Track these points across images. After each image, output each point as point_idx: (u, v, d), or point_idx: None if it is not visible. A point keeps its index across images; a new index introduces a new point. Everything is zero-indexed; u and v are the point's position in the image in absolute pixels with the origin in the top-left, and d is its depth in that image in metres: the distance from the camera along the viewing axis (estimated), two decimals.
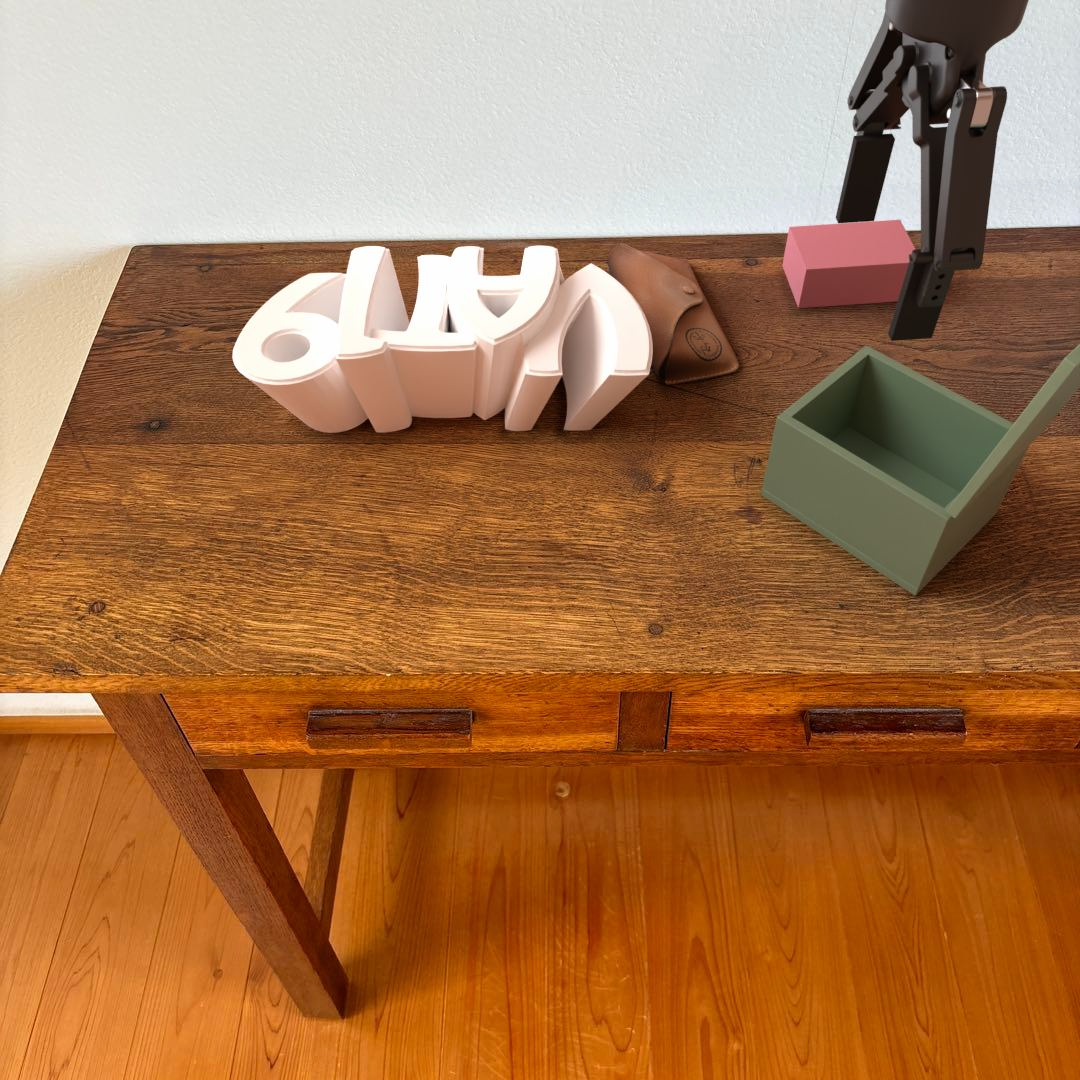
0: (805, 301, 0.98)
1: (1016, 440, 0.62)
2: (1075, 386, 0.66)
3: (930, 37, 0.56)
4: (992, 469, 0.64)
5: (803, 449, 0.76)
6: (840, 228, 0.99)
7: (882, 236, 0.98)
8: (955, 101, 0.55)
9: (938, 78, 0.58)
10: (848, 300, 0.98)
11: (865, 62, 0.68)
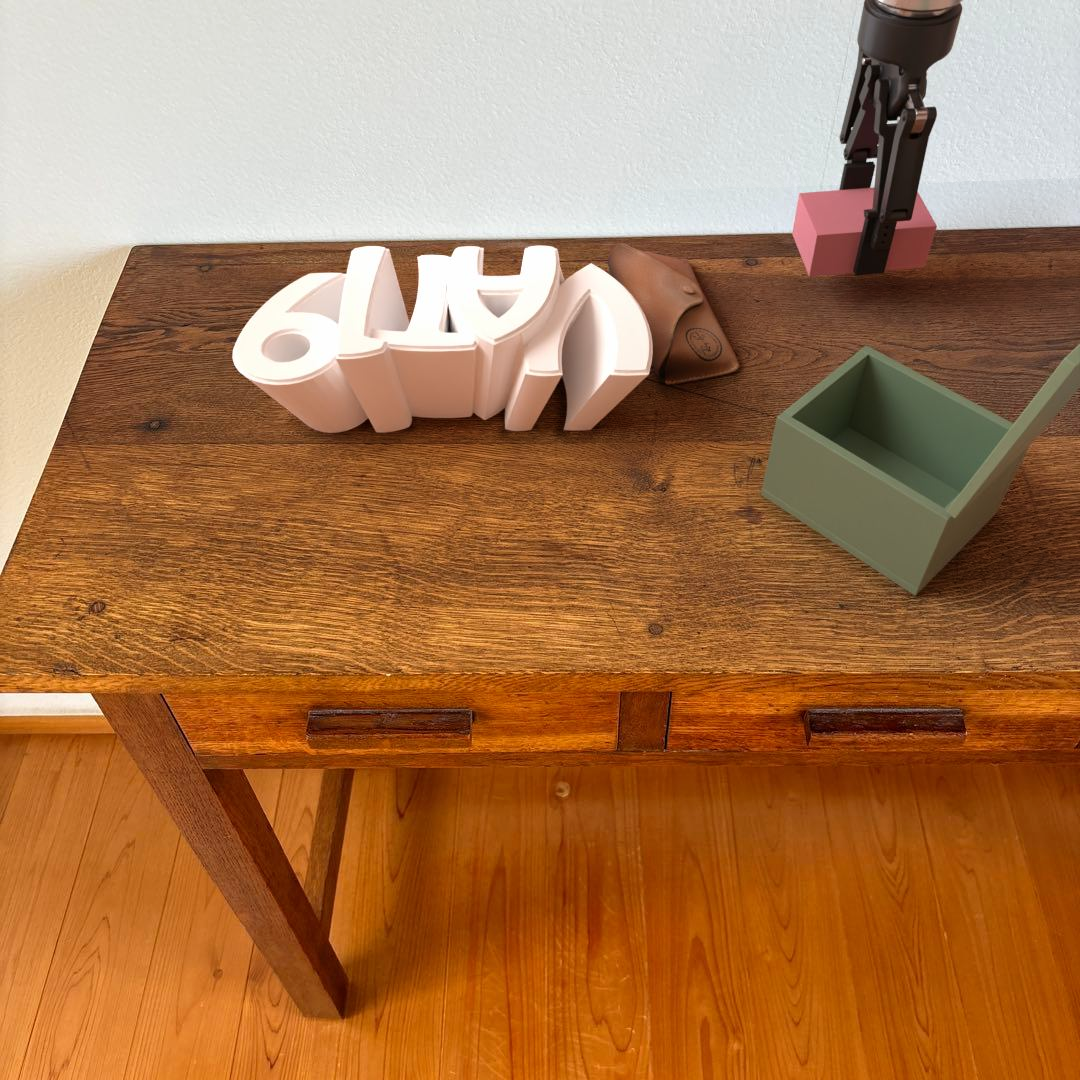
0: (816, 269, 0.95)
1: (1016, 440, 0.62)
2: (1075, 386, 0.66)
3: (887, 60, 0.81)
4: (992, 469, 0.64)
5: (803, 449, 0.76)
6: (852, 194, 0.96)
7: None
8: (901, 117, 0.81)
9: (894, 88, 0.82)
10: None
11: (849, 101, 0.93)
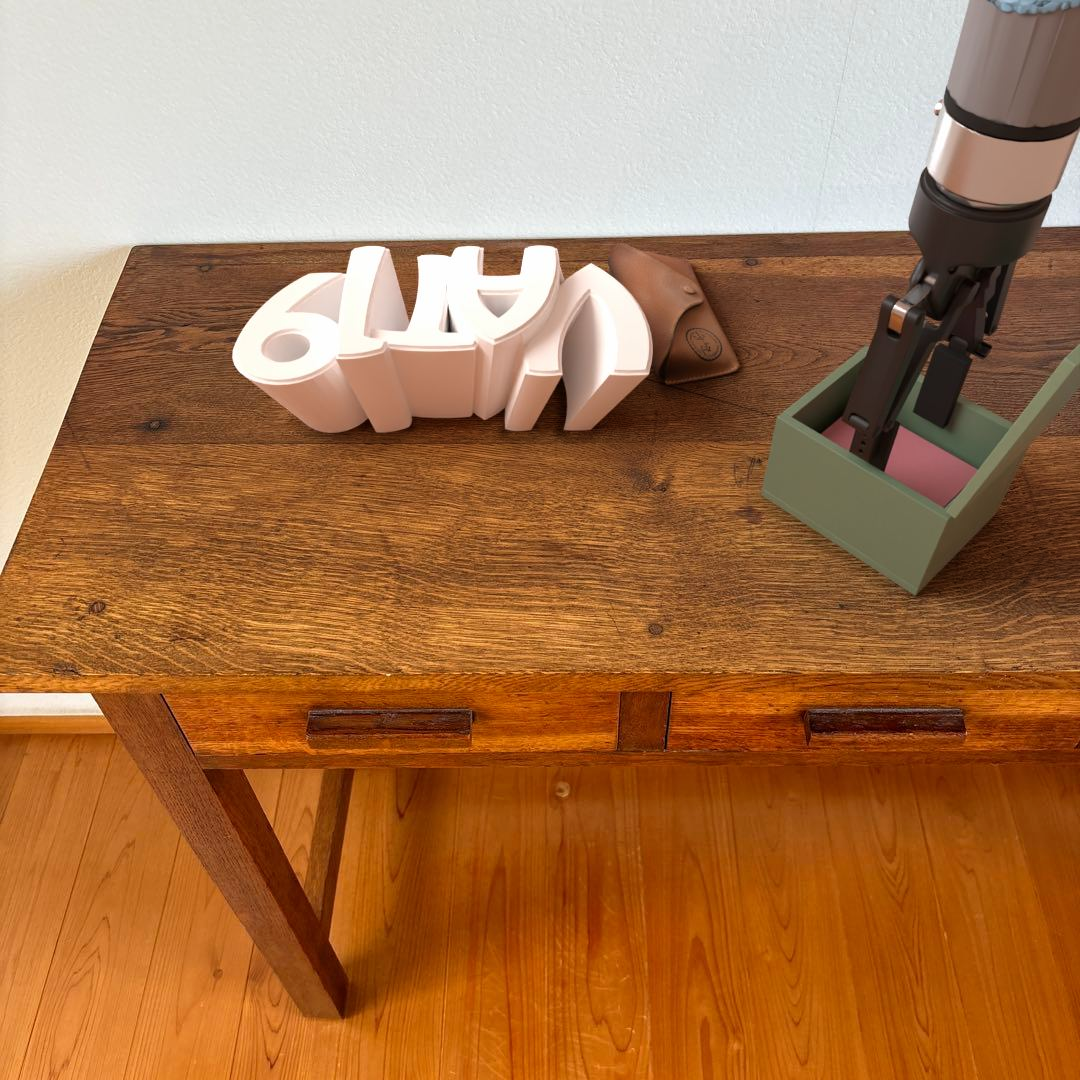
0: None
1: (1016, 440, 0.62)
2: (1075, 386, 0.66)
3: (912, 234, 0.62)
4: (992, 469, 0.64)
5: (803, 449, 0.76)
6: (904, 437, 0.79)
7: (932, 472, 0.77)
8: None
9: None
10: None
11: None
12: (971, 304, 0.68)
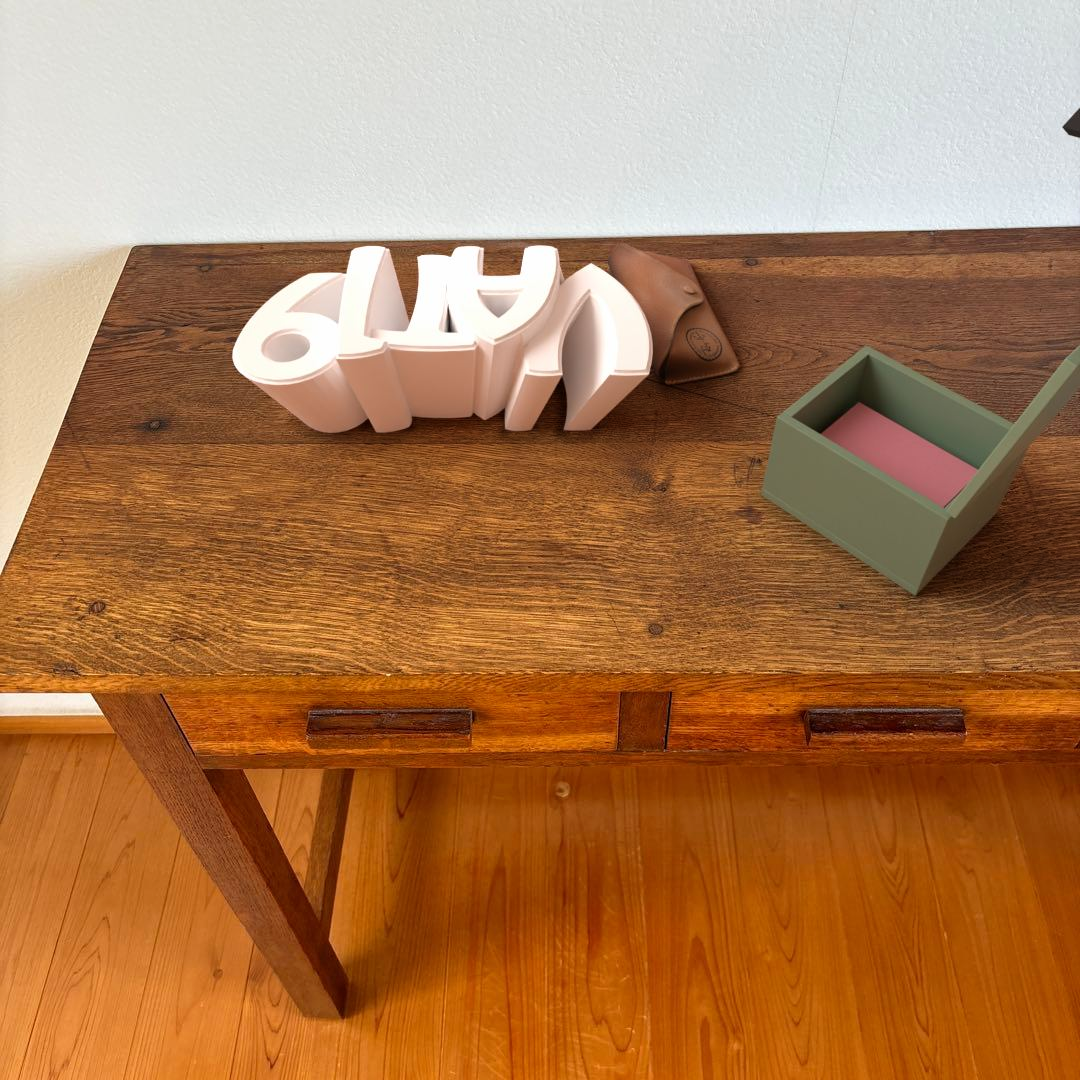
0: None
1: (1016, 440, 0.62)
2: (1075, 386, 0.66)
3: None
4: (992, 469, 0.64)
5: (803, 449, 0.76)
6: (904, 437, 0.79)
7: (932, 472, 0.77)
8: None
9: None
10: None
11: None
12: None
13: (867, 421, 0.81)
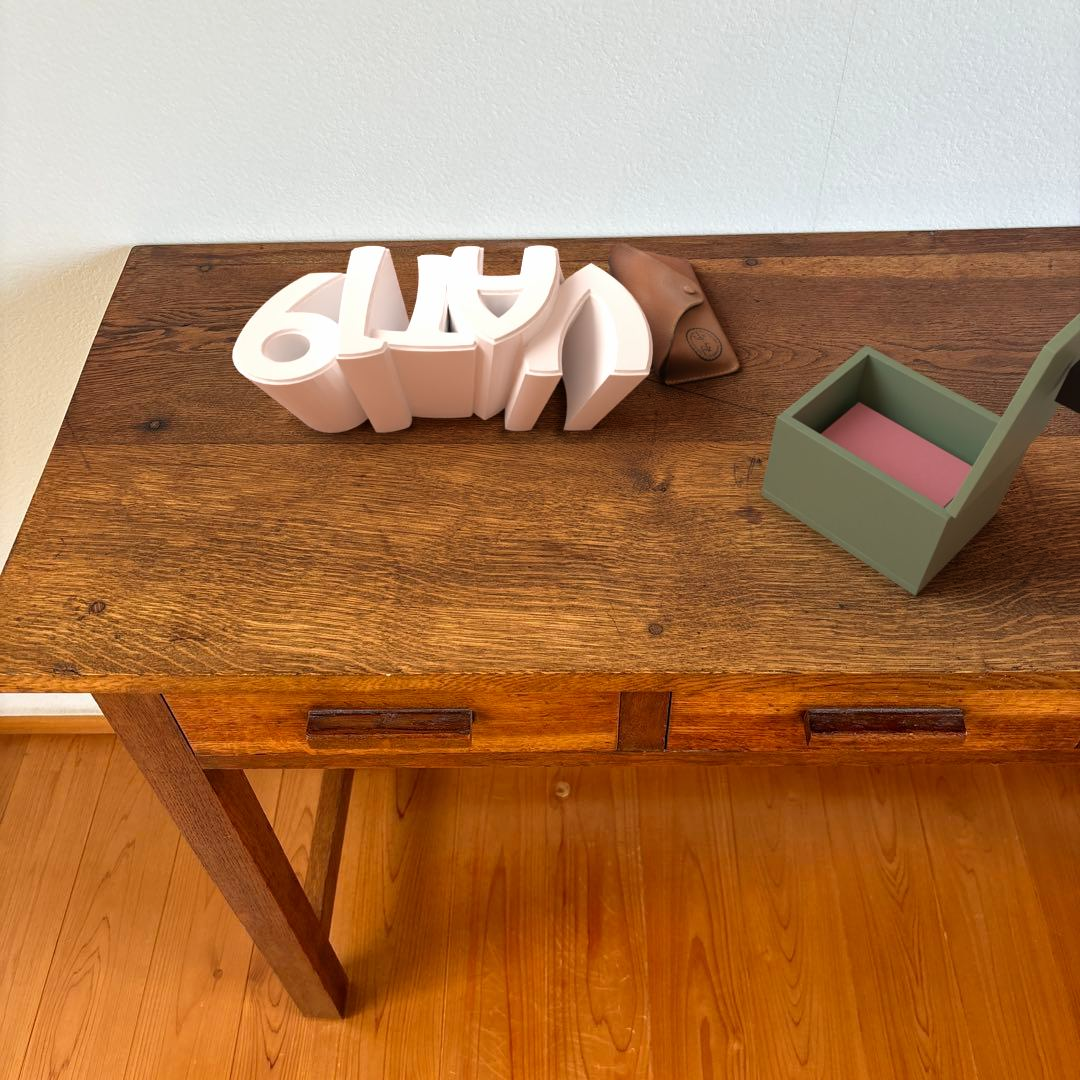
0: None
1: (1006, 433, 0.62)
2: None
3: None
4: (986, 464, 0.64)
5: (803, 449, 0.76)
6: (904, 437, 0.79)
7: (932, 472, 0.77)
8: None
9: None
10: None
11: None
12: None
13: (867, 421, 0.81)
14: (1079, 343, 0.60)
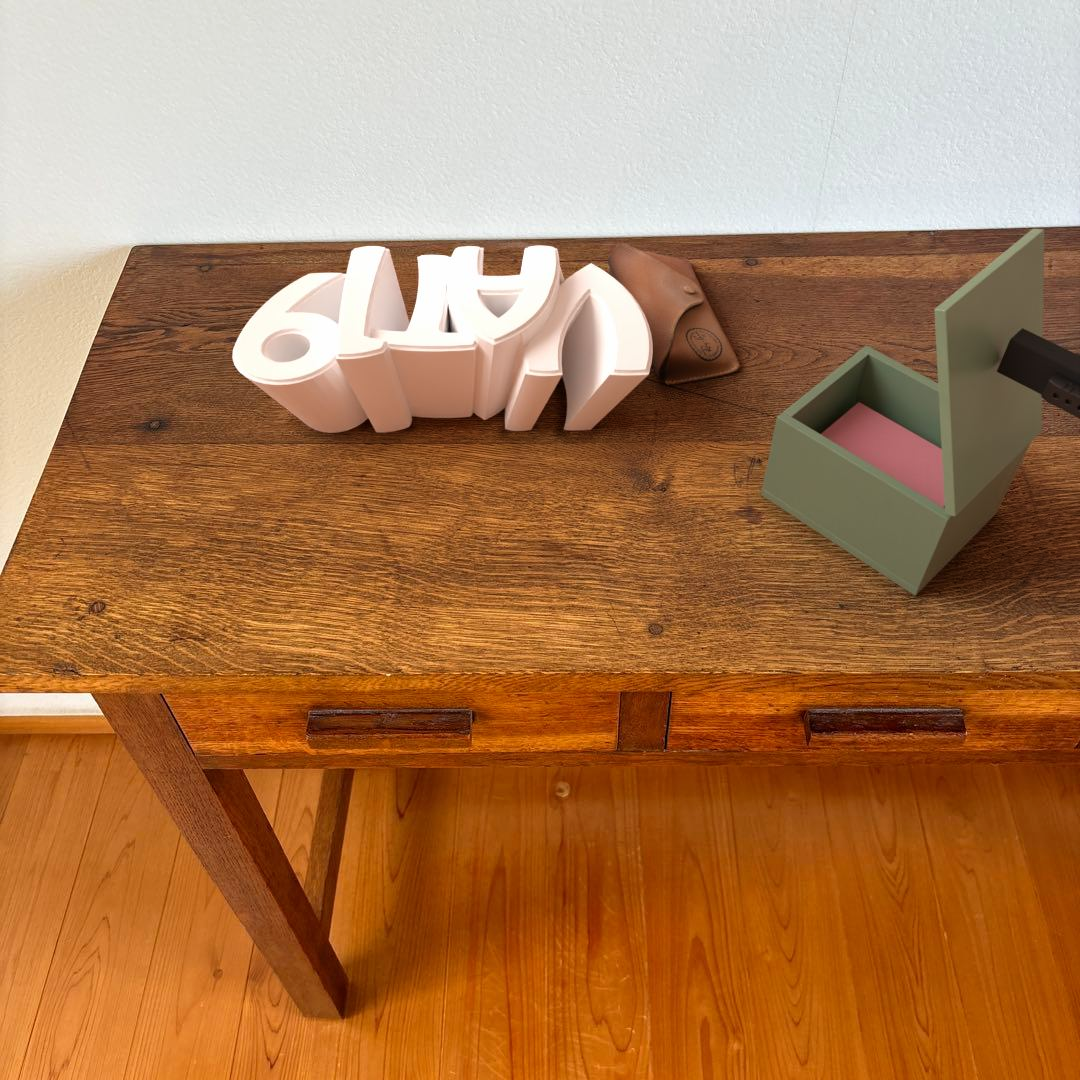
0: None
1: (949, 407, 0.64)
2: None
3: None
4: (950, 447, 0.66)
5: (803, 449, 0.76)
6: (904, 437, 0.79)
7: (932, 472, 0.77)
8: None
9: None
10: None
11: None
12: None
13: (867, 421, 0.81)
14: (988, 309, 0.63)
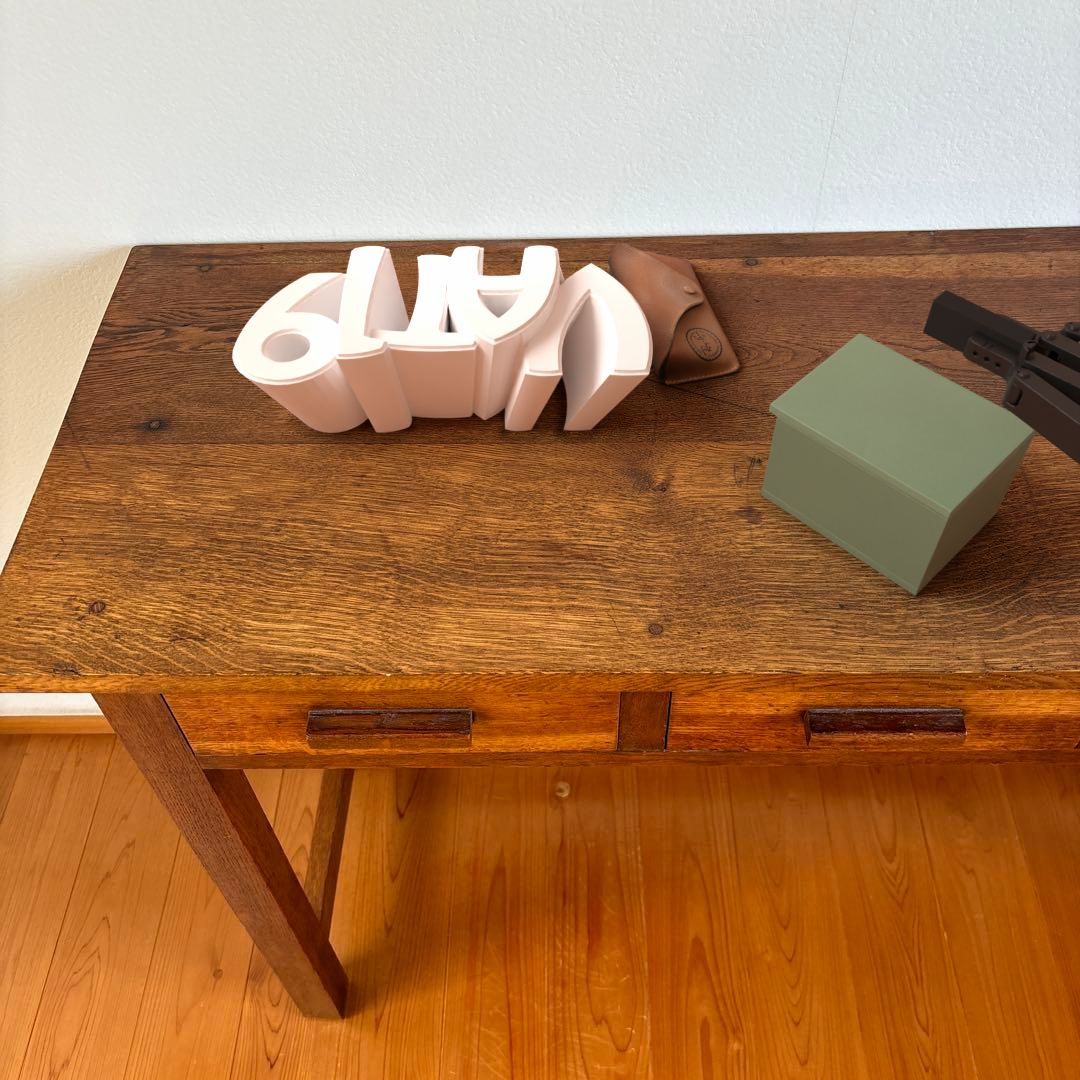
0: None
1: (844, 448, 0.73)
2: (921, 398, 0.76)
3: None
4: (880, 470, 0.71)
5: (803, 449, 0.76)
6: None
7: None
8: None
9: None
10: None
11: None
12: None
13: None
14: (831, 387, 0.77)
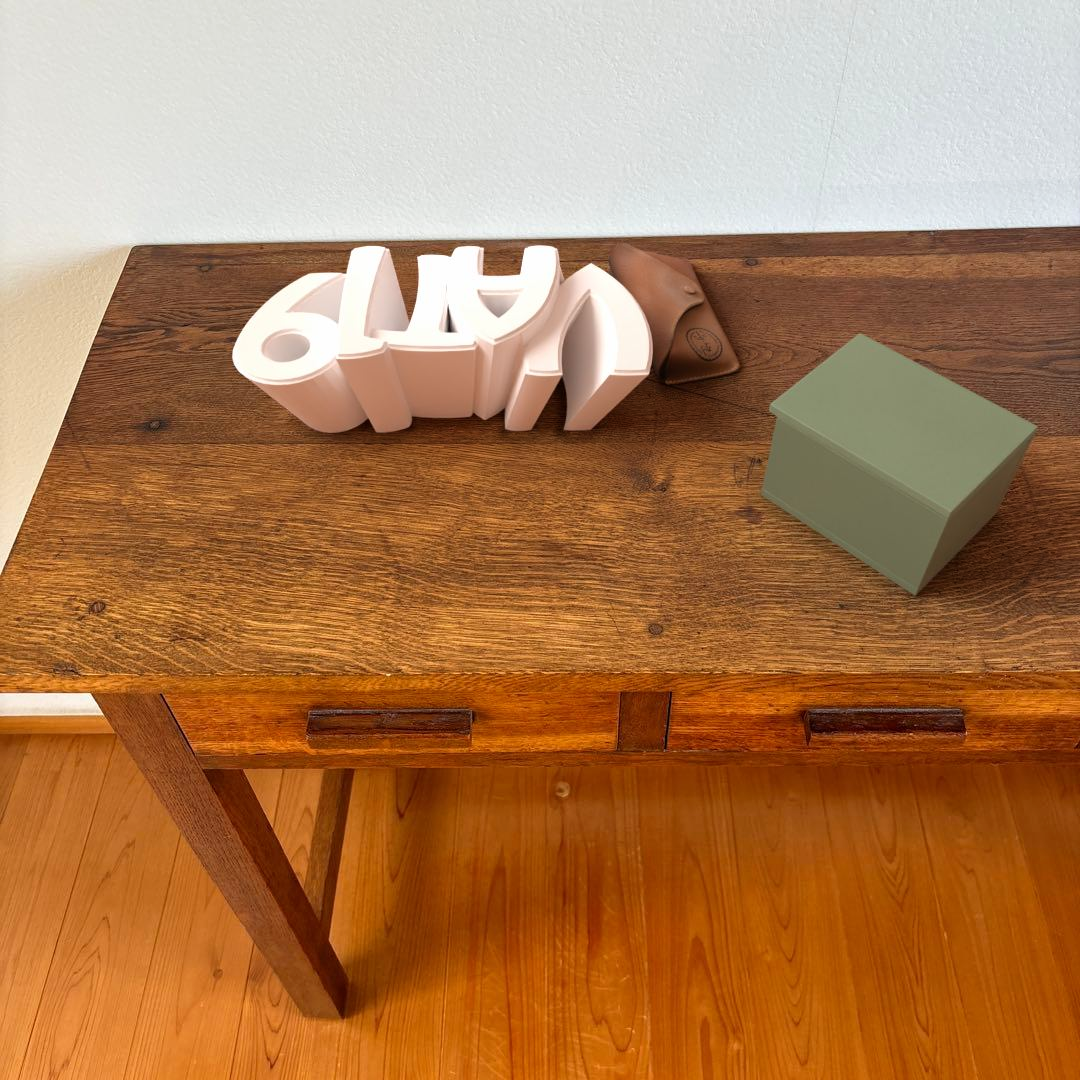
0: None
1: (844, 448, 0.73)
2: (921, 398, 0.76)
3: None
4: (880, 470, 0.71)
5: (803, 449, 0.76)
6: None
7: None
8: None
9: None
10: None
11: None
12: None
13: None
14: (831, 387, 0.77)
